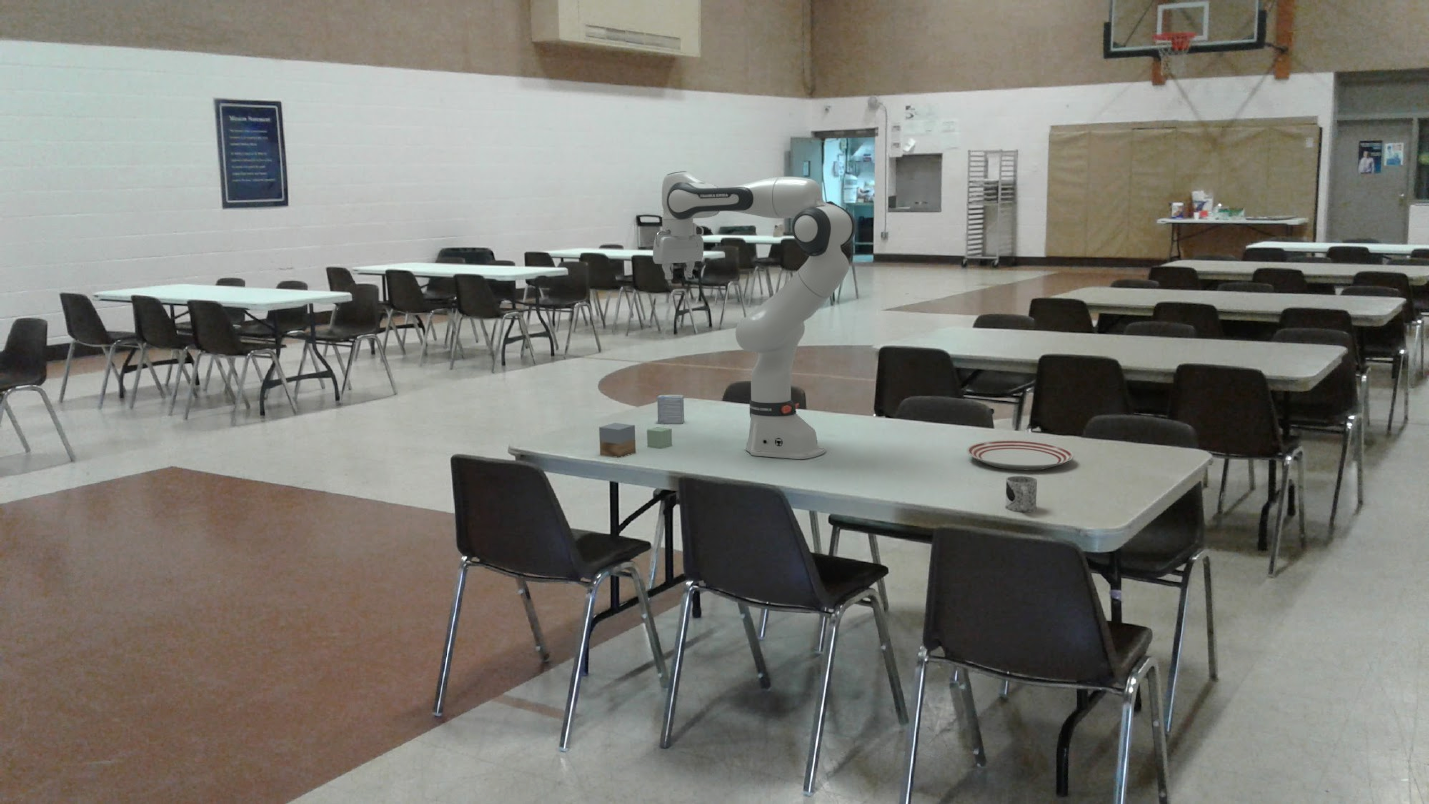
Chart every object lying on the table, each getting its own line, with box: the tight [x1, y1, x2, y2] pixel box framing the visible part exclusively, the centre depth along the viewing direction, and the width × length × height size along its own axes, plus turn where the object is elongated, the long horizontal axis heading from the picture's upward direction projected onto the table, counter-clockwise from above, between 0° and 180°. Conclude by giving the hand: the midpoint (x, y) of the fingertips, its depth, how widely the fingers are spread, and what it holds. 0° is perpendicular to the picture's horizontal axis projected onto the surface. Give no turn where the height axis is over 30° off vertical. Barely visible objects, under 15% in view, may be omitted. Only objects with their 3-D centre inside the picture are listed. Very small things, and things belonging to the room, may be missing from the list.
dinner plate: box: [966, 439, 1075, 471], centre depth 306 cm, size 27×27×3 cm
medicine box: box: [656, 394, 685, 425], centre depth 366 cm, size 8×4×9 cm, turn 84°
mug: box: [1005, 475, 1038, 513], centre depth 259 cm, size 10×7×7 cm, turn 175°
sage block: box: [646, 426, 673, 450], centre depth 331 cm, size 5×5×5 cm
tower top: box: [598, 422, 636, 444], centre depth 322 cm, size 7×7×4 cm
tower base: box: [599, 439, 637, 458], centre depth 322 cm, size 7×7×4 cm
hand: (678, 278), depth 334 cm, fingers open, 8 cm apart
